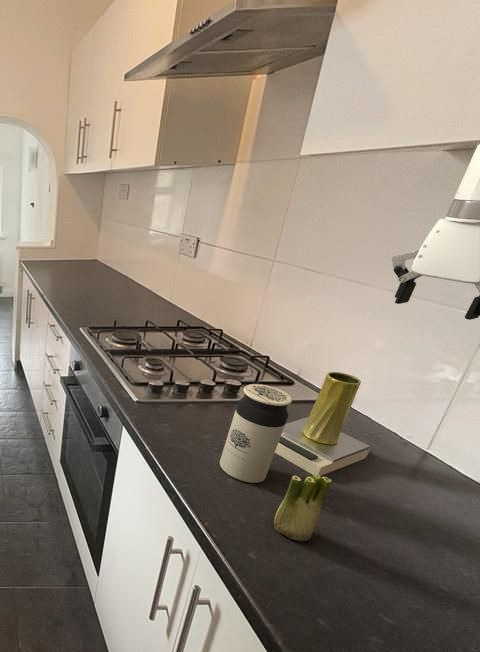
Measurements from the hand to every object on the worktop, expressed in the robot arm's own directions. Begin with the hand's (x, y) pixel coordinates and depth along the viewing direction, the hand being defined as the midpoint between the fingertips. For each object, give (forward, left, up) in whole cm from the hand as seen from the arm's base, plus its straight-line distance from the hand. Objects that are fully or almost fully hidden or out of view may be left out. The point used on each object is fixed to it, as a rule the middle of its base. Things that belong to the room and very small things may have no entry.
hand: (434, 310), depth 76 cm
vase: (+9, -5, -29) cm, 31 cm away
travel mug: (+30, -6, -32) cm, 45 cm away
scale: (+10, -5, -32) cm, 34 cm away
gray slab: (+9, -5, -30) cm, 31 cm away
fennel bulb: (+37, +8, -32) cm, 50 cm away
